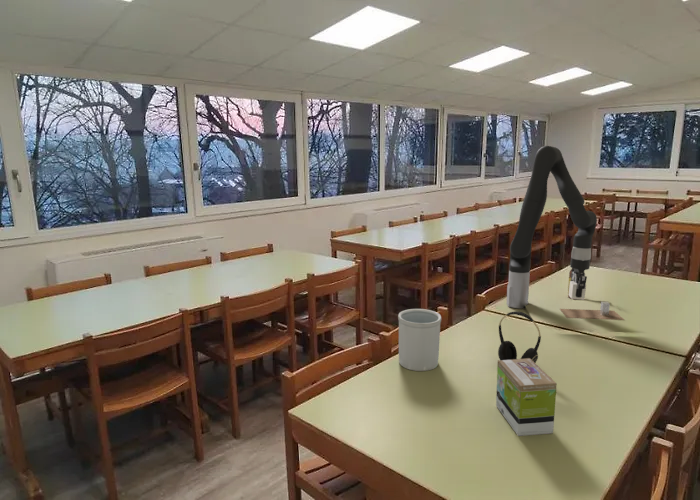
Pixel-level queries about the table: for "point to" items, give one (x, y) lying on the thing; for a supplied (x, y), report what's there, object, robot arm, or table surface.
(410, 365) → the utensil holder
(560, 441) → the table surface
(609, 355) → the table surface
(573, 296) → the white rectangular block
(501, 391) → the tea box
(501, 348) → the headphones
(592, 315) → the board
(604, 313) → the post
